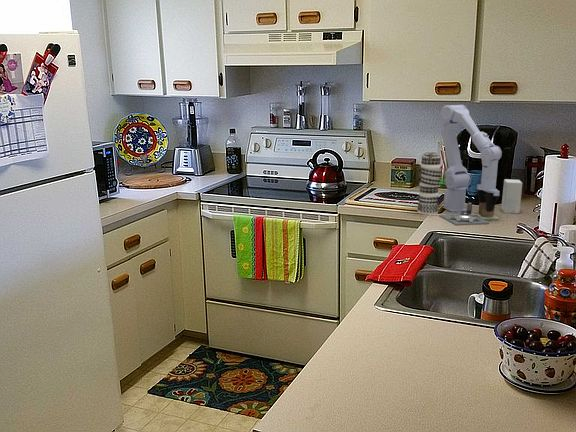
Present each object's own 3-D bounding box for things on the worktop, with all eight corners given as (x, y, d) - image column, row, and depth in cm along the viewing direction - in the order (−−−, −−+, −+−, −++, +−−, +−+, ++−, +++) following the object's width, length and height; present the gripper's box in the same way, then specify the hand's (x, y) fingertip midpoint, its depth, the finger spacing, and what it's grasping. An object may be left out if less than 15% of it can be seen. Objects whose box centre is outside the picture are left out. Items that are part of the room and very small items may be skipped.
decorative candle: (418, 209, 262) (421, 150, 256) (440, 211, 259) (444, 152, 253) (414, 213, 254) (418, 153, 248) (437, 215, 250) (441, 154, 245)
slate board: (439, 216, 250) (439, 214, 250) (471, 214, 252) (471, 213, 252) (455, 225, 236) (456, 223, 235) (489, 223, 238) (489, 222, 238)
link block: (478, 214, 250) (479, 202, 249) (489, 214, 251) (490, 202, 250) (482, 216, 247) (483, 204, 245) (493, 216, 248) (495, 203, 246)
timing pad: (472, 215, 252) (472, 213, 252) (488, 214, 253) (488, 212, 253) (482, 219, 244) (482, 218, 244) (498, 219, 246) (498, 217, 246)
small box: (519, 213, 256) (522, 182, 253) (503, 212, 257) (506, 182, 254) (516, 209, 263) (519, 179, 260) (500, 208, 265) (503, 178, 261)
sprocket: (443, 218, 242) (444, 205, 241) (455, 212, 252) (456, 200, 250) (473, 223, 235) (475, 209, 234) (485, 217, 245) (486, 204, 243)
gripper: (471, 173, 251) (468, 206, 254) (488, 180, 237) (485, 214, 241) (487, 173, 253) (484, 205, 256) (505, 179, 239) (502, 213, 242)
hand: (486, 209), depth 248 cm, fingers open, 5 cm apart
